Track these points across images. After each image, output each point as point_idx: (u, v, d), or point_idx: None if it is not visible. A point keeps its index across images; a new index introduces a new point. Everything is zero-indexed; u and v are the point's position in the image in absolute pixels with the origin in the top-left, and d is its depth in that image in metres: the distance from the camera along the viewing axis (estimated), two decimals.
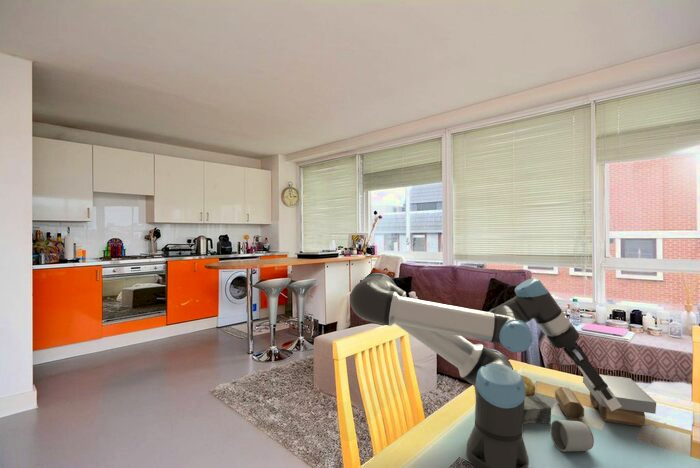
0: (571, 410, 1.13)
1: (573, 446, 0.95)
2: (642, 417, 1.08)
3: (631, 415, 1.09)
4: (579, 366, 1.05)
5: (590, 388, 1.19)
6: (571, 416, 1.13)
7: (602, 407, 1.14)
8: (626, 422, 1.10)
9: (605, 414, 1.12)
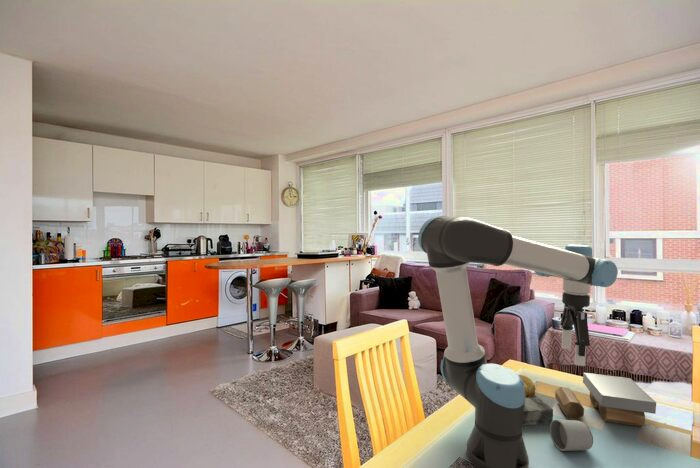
0: (571, 410, 1.13)
1: (572, 445, 0.95)
2: (642, 417, 1.08)
3: (631, 415, 1.09)
4: (564, 330, 1.23)
5: (590, 388, 1.19)
6: (571, 416, 1.13)
7: (602, 407, 1.14)
8: (626, 422, 1.10)
9: (605, 414, 1.12)
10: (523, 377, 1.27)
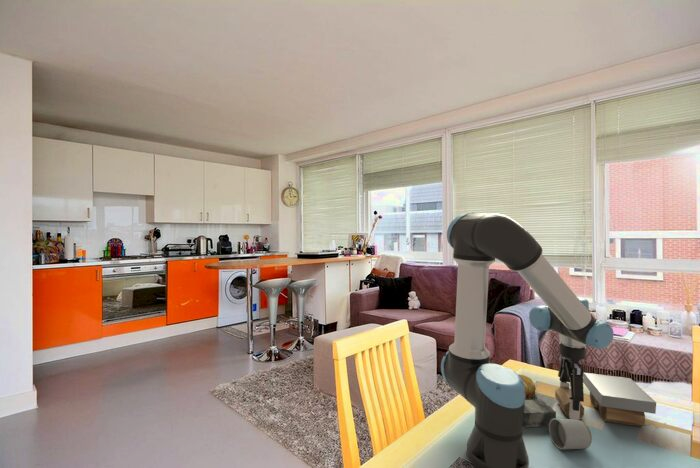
0: None
1: (571, 444, 0.96)
2: (642, 417, 1.08)
3: (631, 415, 1.09)
4: (562, 383, 1.23)
5: (590, 388, 1.19)
6: None
7: (602, 407, 1.14)
8: (626, 422, 1.10)
9: (605, 414, 1.12)
10: (523, 377, 1.27)
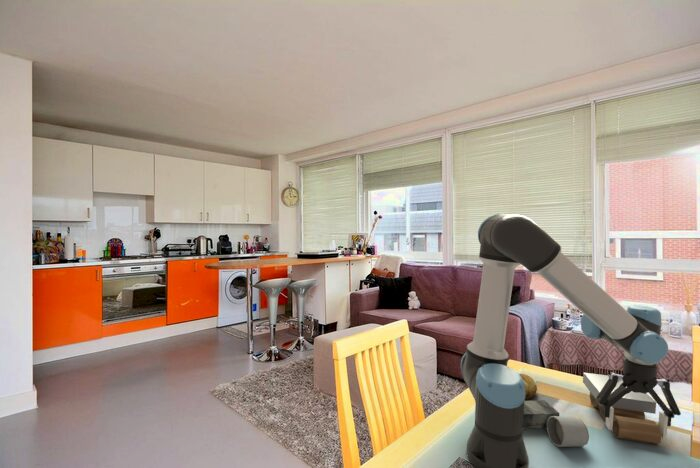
0: (614, 425, 1.06)
1: (568, 441, 0.97)
2: (642, 417, 1.08)
3: (631, 415, 1.09)
4: (660, 412, 1.03)
5: (590, 388, 1.19)
6: (614, 432, 1.06)
7: (602, 407, 1.14)
8: None
9: None
10: (525, 376, 1.27)
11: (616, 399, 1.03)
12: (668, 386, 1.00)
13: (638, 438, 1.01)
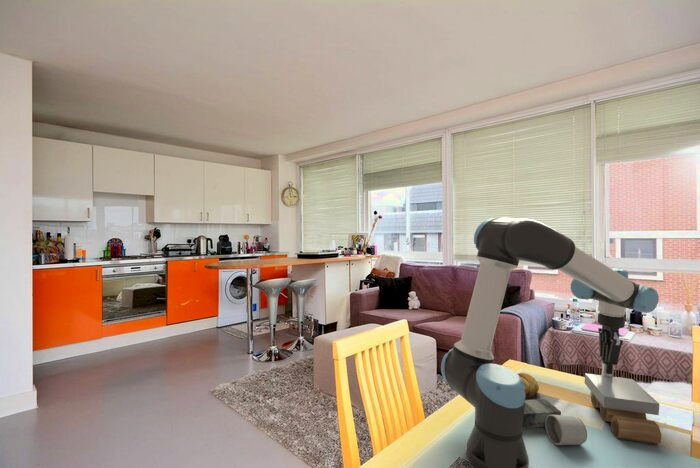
0: (614, 425, 1.06)
1: (567, 440, 0.98)
2: None
3: None
4: None
5: (592, 389, 1.17)
6: (614, 432, 1.06)
7: (603, 408, 1.13)
8: None
9: (605, 415, 1.11)
10: (526, 375, 1.28)
11: None
12: None
13: (638, 438, 1.01)
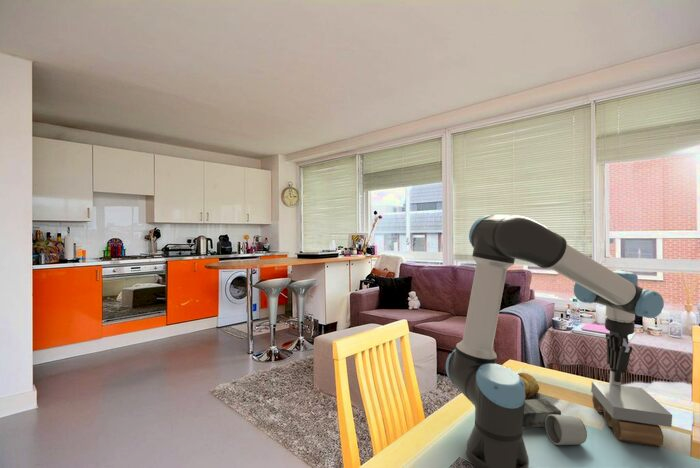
0: (615, 427, 1.05)
1: (567, 439, 0.98)
2: None
3: None
4: None
5: (600, 398, 1.11)
6: (615, 434, 1.05)
7: (608, 414, 1.10)
8: None
9: (607, 421, 1.10)
10: (526, 375, 1.28)
11: None
12: None
13: (640, 440, 1.00)
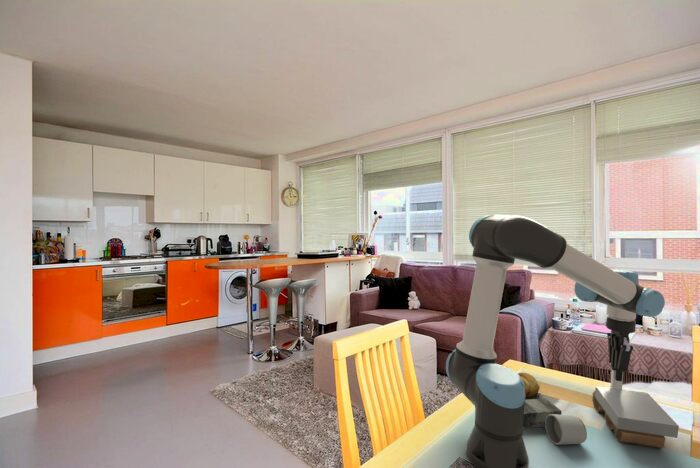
0: (616, 428, 1.04)
1: (567, 439, 0.98)
2: None
3: None
4: None
5: (603, 405, 1.08)
6: (616, 435, 1.04)
7: None
8: None
9: (608, 423, 1.09)
10: (527, 375, 1.28)
11: None
12: None
13: (641, 442, 0.99)
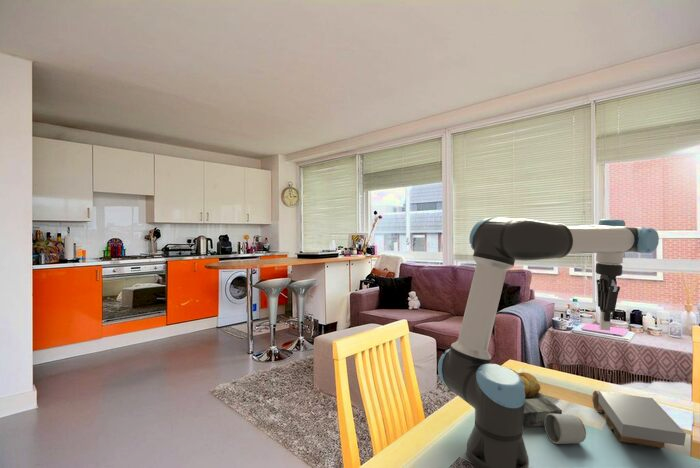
0: (616, 428, 1.04)
1: (566, 438, 0.98)
2: None
3: None
4: None
5: (607, 411, 1.05)
6: (616, 435, 1.04)
7: None
8: None
9: (607, 423, 1.10)
10: (527, 375, 1.29)
11: None
12: None
13: (641, 442, 0.99)
